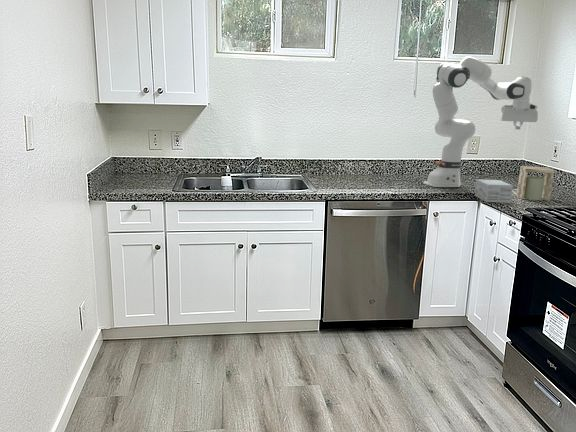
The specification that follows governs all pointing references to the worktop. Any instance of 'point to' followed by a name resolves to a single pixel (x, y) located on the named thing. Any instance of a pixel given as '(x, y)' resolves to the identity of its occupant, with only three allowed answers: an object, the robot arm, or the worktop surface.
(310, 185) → the worktop surface
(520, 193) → the tunnel
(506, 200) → the supplement box
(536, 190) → the can
